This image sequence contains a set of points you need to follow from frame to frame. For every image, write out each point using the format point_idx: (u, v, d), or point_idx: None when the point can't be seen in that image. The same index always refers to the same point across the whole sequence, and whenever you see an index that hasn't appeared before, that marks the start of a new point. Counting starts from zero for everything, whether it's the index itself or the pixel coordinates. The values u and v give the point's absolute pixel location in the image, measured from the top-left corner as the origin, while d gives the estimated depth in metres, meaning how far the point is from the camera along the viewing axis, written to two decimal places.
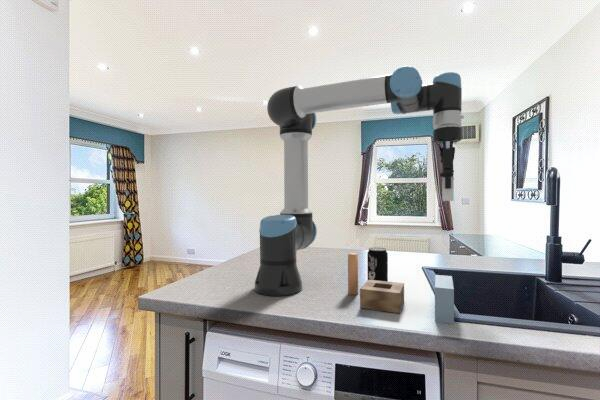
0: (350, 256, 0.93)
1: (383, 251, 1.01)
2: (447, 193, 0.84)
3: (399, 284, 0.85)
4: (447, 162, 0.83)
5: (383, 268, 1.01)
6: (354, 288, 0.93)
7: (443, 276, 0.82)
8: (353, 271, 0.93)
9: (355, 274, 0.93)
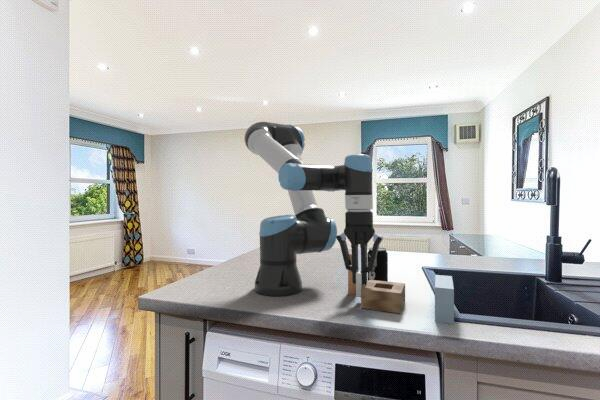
0: (350, 256, 0.93)
1: (383, 251, 1.01)
2: None
3: (400, 284, 0.85)
4: None
5: (383, 268, 1.01)
6: (354, 288, 0.93)
7: (443, 276, 0.82)
8: None
9: None
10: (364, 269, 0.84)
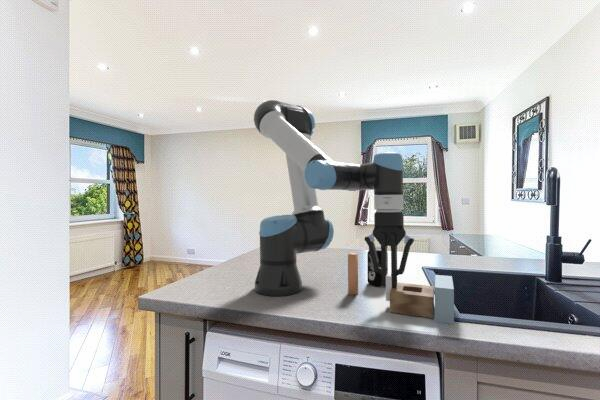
0: (350, 256, 0.93)
1: None
2: None
3: (429, 287, 0.82)
4: None
5: None
6: (354, 288, 0.93)
7: (443, 276, 0.82)
8: (353, 271, 0.93)
9: (355, 274, 0.93)
10: (395, 272, 0.81)
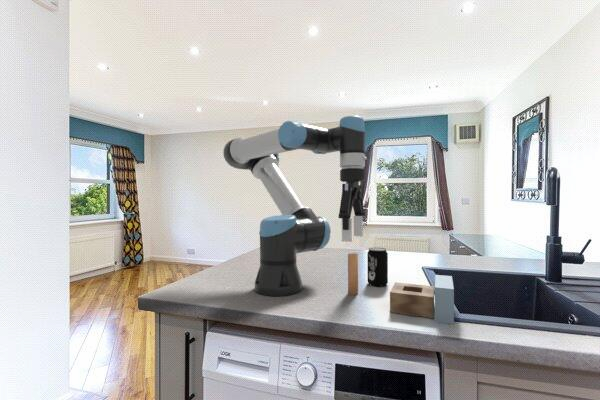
0: (350, 256, 0.93)
1: (383, 251, 1.01)
2: (345, 234, 0.88)
3: (429, 287, 0.82)
4: (343, 205, 0.86)
5: (383, 268, 1.01)
6: (354, 288, 0.93)
7: (443, 276, 0.82)
8: (353, 271, 0.93)
9: (355, 274, 0.93)
10: (362, 212, 1.01)
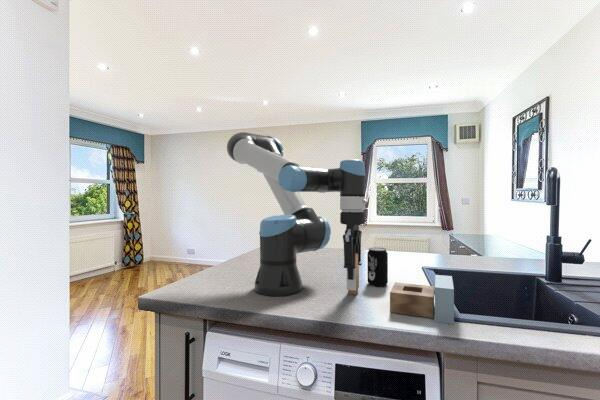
0: None
1: (383, 251, 1.01)
2: (350, 283, 0.92)
3: (429, 287, 0.82)
4: (347, 257, 0.89)
5: (383, 268, 1.01)
6: None
7: (443, 276, 0.82)
8: None
9: None
10: (359, 261, 0.96)
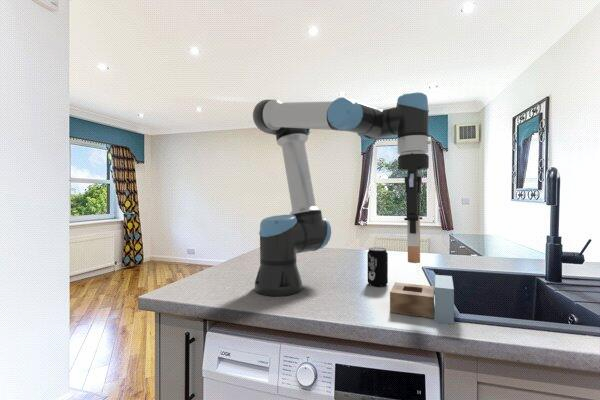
0: None
1: (383, 251, 1.01)
2: (412, 238, 0.78)
3: (429, 287, 0.82)
4: (411, 206, 0.76)
5: (383, 268, 1.01)
6: (416, 254, 0.79)
7: (443, 276, 0.82)
8: None
9: None
10: (419, 215, 0.83)
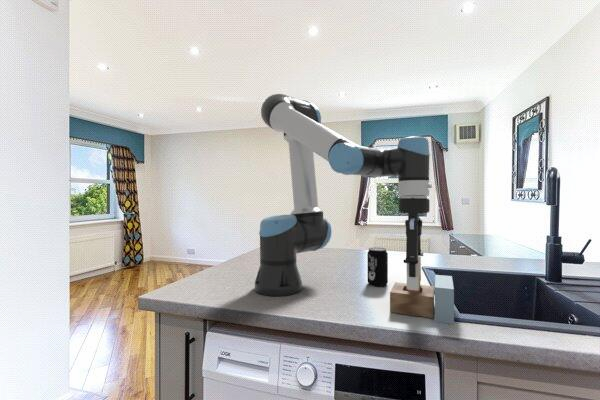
0: None
1: (383, 251, 1.01)
2: (411, 281, 0.76)
3: (429, 287, 0.82)
4: (410, 249, 0.74)
5: (383, 268, 1.01)
6: None
7: (443, 276, 0.82)
8: None
9: None
10: (420, 251, 0.85)
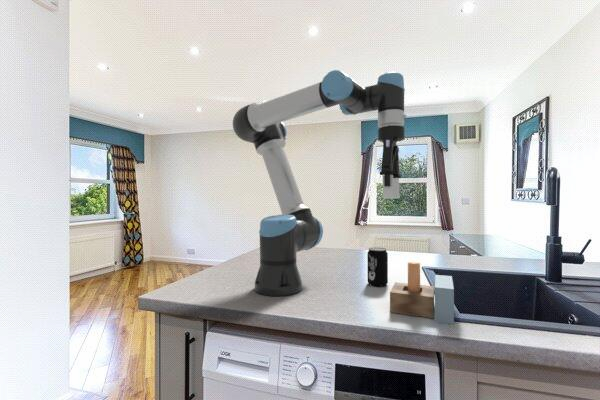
0: (411, 266, 0.79)
1: (383, 251, 1.01)
2: (387, 191, 0.86)
3: (429, 287, 0.82)
4: (386, 160, 0.84)
5: (383, 268, 1.01)
6: None
7: (443, 276, 0.82)
8: (416, 284, 0.79)
9: (418, 287, 0.79)
10: (398, 174, 0.99)
